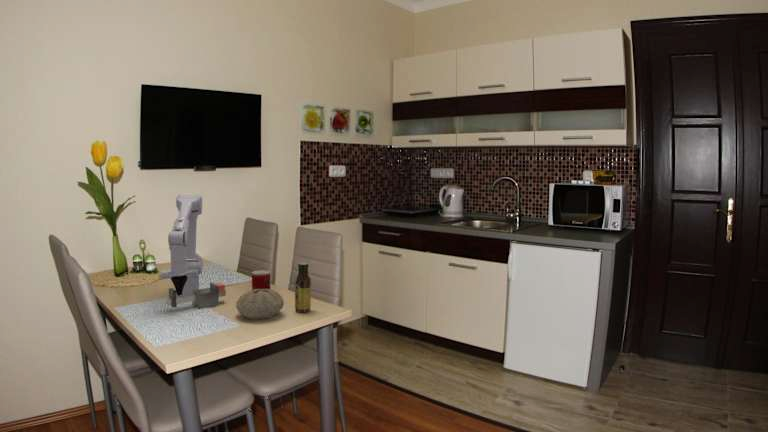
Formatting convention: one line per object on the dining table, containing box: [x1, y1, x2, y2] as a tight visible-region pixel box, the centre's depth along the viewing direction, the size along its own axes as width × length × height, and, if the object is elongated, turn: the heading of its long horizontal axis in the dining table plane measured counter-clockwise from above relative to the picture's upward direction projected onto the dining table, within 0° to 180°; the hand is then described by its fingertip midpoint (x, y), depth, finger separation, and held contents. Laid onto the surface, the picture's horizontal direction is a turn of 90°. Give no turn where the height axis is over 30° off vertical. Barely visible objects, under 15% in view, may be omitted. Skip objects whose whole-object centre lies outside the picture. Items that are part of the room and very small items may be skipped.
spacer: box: [215, 282, 226, 292], centre depth 202 cm, size 4×3×3 cm
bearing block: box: [192, 282, 220, 310], centre depth 198 cm, size 7×8×8 cm
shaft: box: [165, 287, 227, 308], centre depth 196 cm, size 5×23×6 cm, turn 131°
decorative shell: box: [235, 288, 285, 320], centre depth 187 cm, size 18×18×10 cm
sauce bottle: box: [294, 261, 312, 314], centre depth 193 cm, size 7×6×20 cm
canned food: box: [251, 269, 271, 290], centre depth 212 cm, size 8×8×11 cm
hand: (179, 294), depth 191 cm, fingers closed
